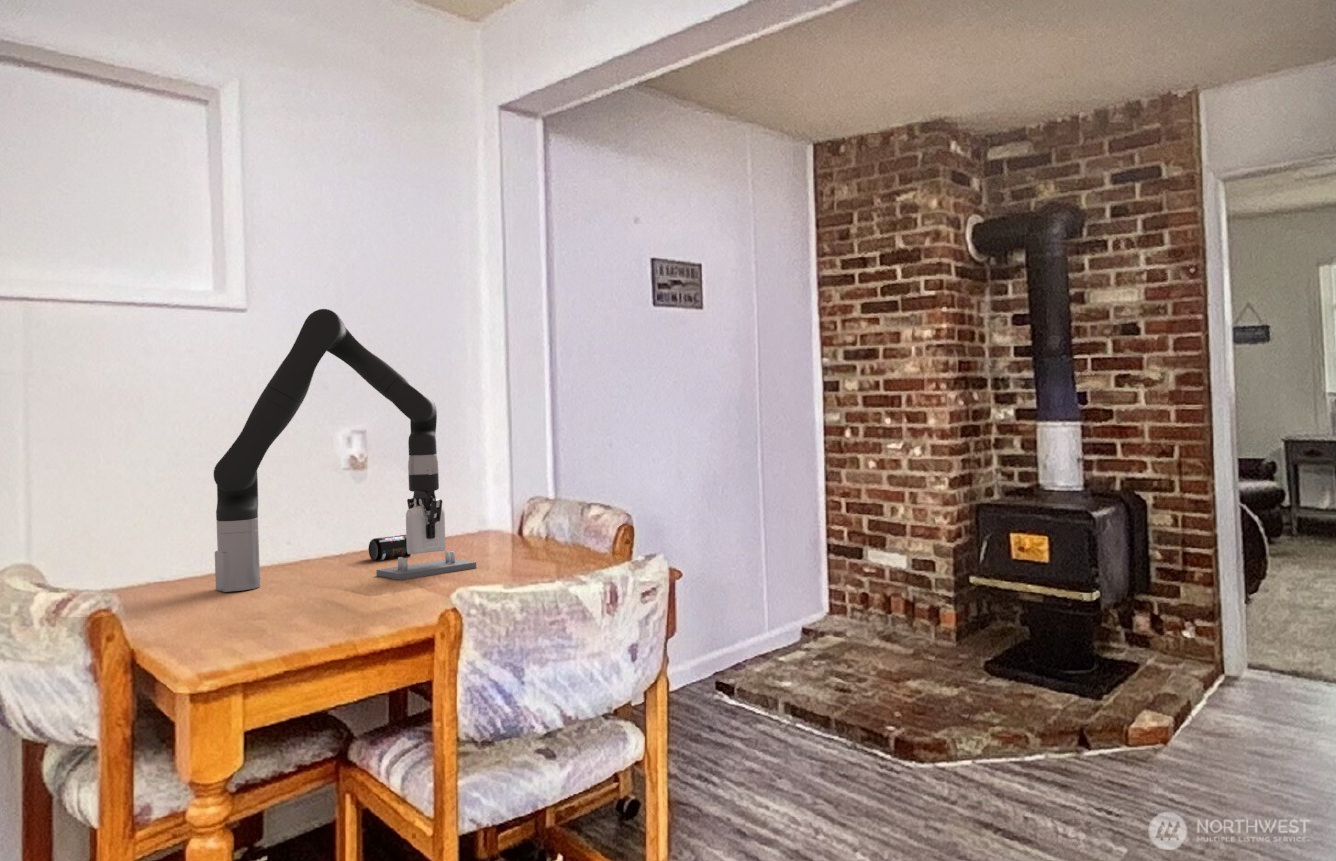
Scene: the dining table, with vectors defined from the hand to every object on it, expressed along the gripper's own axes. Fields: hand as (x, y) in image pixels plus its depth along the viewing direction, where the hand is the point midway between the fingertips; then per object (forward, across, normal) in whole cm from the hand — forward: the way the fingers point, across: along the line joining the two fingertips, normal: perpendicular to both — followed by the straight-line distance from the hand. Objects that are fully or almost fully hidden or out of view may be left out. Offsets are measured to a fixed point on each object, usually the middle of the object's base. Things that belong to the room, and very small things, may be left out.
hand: (425, 537), depth 226 cm
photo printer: (+4, 0, 0) cm, 4 cm away
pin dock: (+9, 0, 0) cm, 9 cm away
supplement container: (+6, -28, +1) cm, 29 cm away
